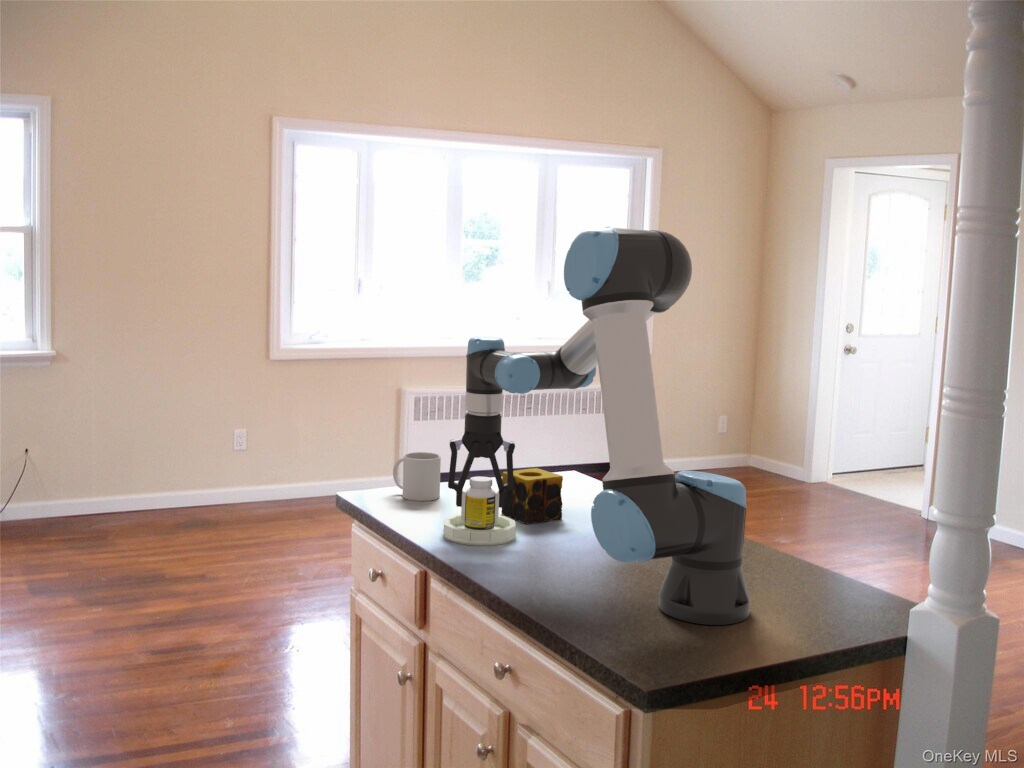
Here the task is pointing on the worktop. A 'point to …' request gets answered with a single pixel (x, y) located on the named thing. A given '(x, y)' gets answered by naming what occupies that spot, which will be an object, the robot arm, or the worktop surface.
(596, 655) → the worktop surface
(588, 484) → the worktop surface
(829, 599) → the worktop surface
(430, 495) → the mug
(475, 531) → the sage dish
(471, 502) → the pill bottle
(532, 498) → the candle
